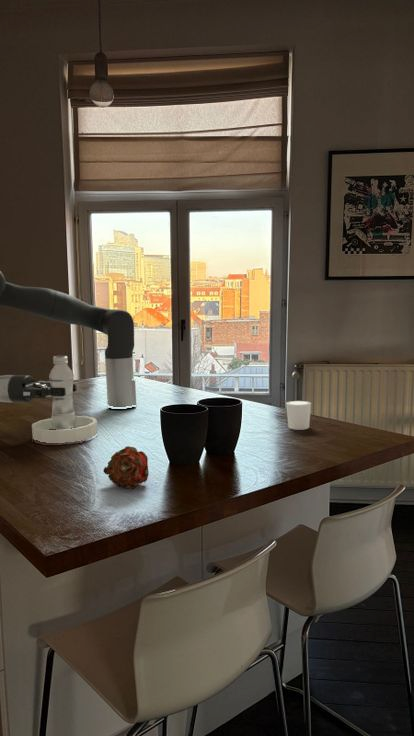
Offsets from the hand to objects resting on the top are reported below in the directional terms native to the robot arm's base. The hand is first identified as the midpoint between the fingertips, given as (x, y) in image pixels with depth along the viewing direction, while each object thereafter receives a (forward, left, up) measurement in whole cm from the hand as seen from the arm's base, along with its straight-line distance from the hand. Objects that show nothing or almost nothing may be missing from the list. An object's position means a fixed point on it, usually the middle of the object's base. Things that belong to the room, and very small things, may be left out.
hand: (70, 389), depth 150 cm
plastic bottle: (+2, -1, -11) cm, 11 cm away
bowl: (+2, -1, -13) cm, 13 cm away
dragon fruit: (-7, +44, -13) cm, 46 cm away
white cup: (-60, +16, -13) cm, 63 cm away
